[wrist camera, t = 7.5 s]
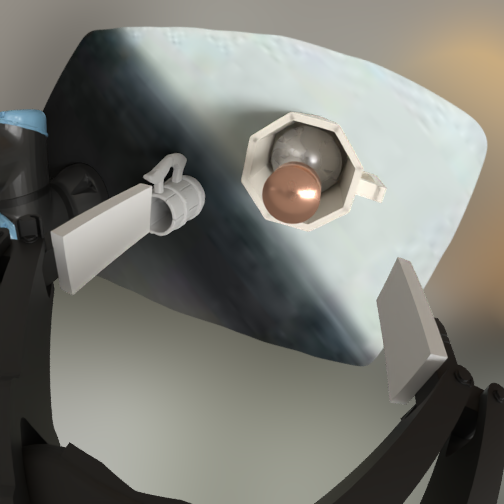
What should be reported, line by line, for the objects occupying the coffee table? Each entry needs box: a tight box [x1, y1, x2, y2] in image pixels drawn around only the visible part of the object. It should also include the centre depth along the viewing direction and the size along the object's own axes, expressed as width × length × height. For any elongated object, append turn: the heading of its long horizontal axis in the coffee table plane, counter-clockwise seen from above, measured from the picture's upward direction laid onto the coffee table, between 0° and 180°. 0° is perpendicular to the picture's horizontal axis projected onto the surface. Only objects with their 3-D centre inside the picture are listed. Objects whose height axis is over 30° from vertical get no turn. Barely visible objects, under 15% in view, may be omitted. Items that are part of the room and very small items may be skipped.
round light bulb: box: [262, 126, 342, 224], centre depth 29 cm, size 9×9×18 cm
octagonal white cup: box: [241, 112, 387, 232], centre depth 34 cm, size 16×12×13 cm
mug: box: [143, 153, 205, 236], centre depth 42 cm, size 8×12×12 cm, turn 174°
